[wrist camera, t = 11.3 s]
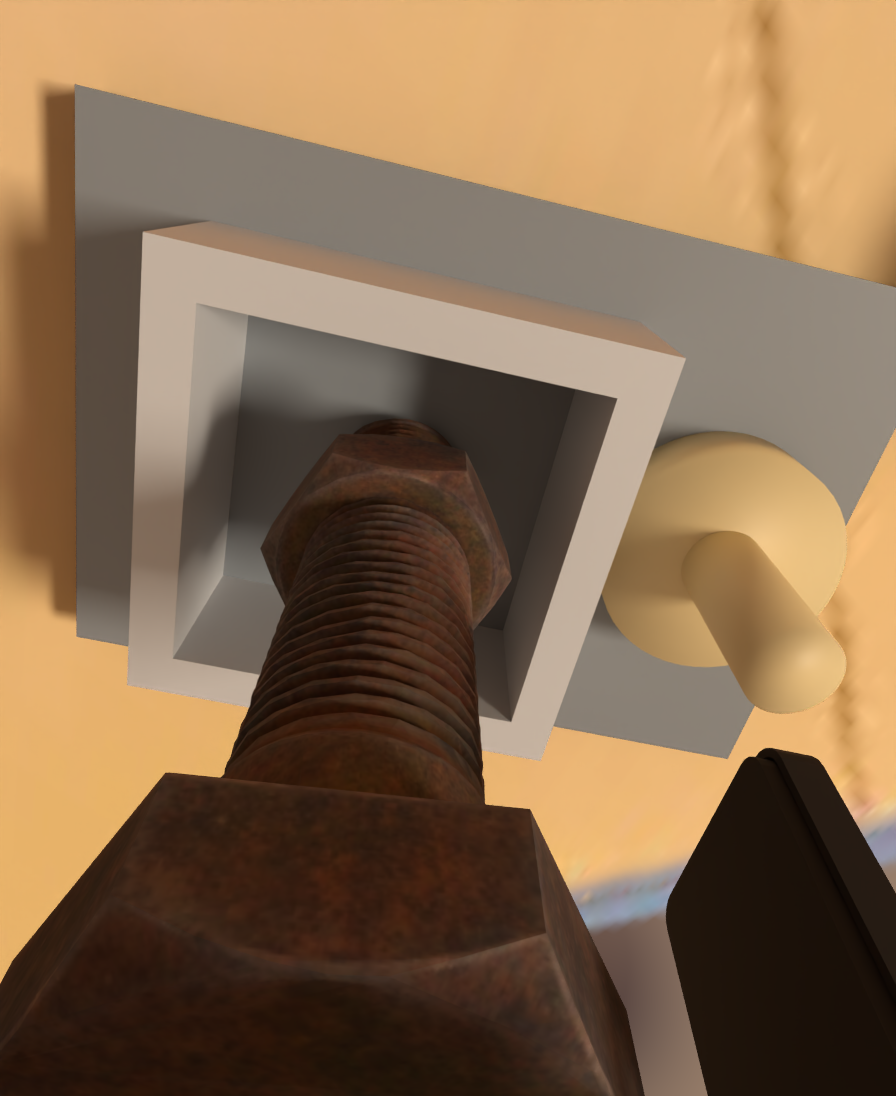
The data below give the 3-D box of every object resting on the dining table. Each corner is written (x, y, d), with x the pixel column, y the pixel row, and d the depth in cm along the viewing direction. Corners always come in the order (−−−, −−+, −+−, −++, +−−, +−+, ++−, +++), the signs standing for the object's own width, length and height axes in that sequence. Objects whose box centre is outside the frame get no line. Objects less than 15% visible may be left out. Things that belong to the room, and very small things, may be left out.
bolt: (388, 317, 17) (202, 814, 4) (549, 444, 19) (813, 1124, 5) (256, 497, 19) (-158, 1227, 6) (411, 599, 21) (354, 1369, 7)
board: (929, 295, 18) (1188, 358, 12) (715, 733, 24) (807, 933, 18) (100, 90, 17) (-132, 32, 10) (94, 614, 23) (-52, 787, 16)
